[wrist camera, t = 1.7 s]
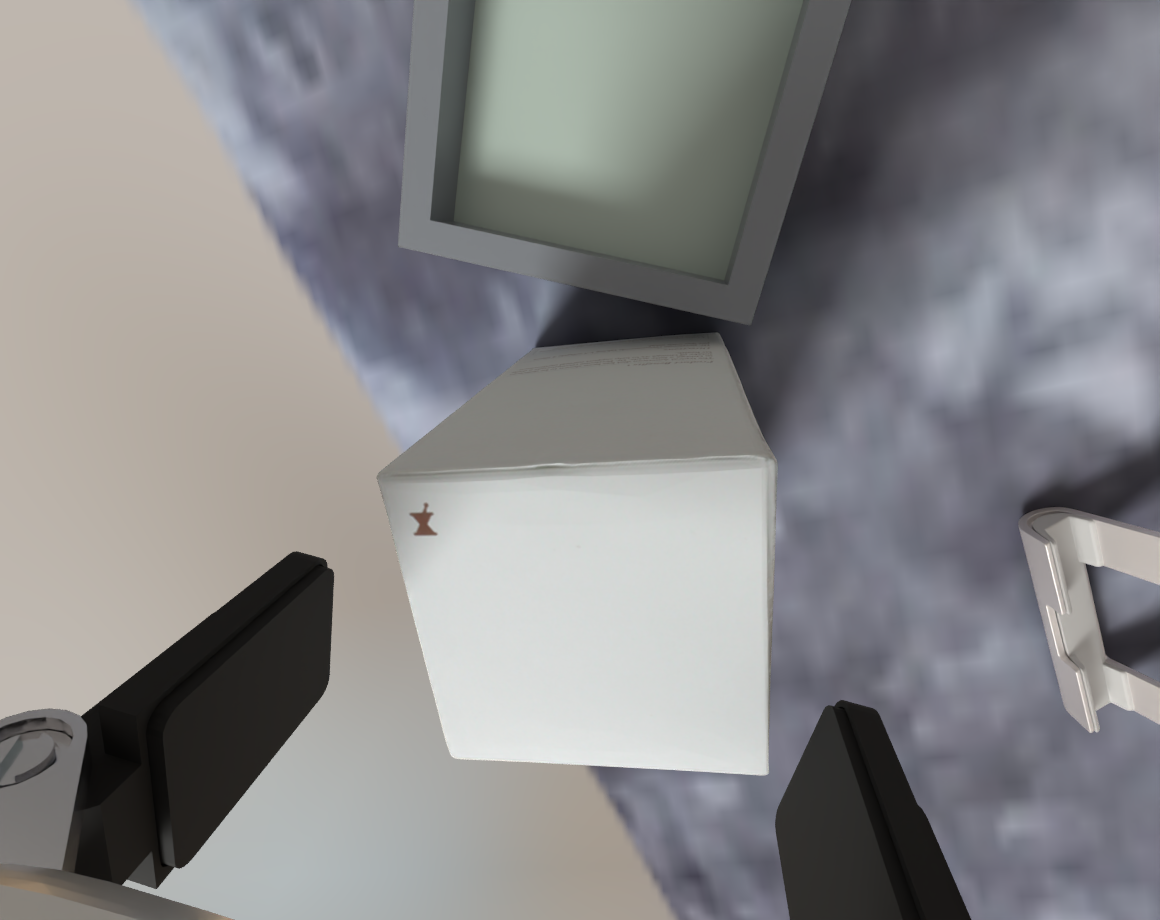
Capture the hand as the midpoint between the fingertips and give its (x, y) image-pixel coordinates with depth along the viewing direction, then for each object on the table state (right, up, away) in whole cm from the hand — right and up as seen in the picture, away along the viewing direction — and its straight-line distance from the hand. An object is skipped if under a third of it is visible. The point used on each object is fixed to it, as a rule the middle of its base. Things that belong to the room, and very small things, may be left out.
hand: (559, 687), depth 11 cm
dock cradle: (+2, +16, +8) cm, 18 cm away
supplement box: (+3, +5, +12) cm, 14 cm away
